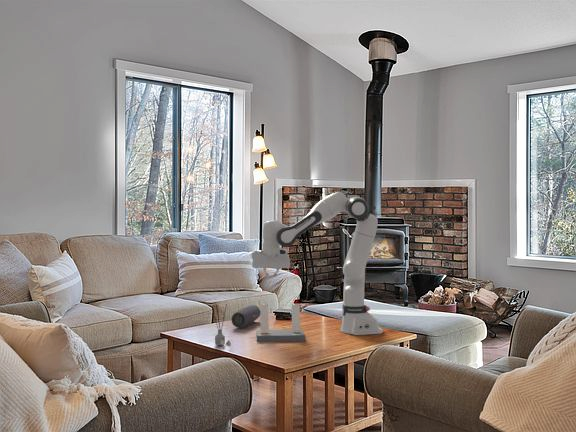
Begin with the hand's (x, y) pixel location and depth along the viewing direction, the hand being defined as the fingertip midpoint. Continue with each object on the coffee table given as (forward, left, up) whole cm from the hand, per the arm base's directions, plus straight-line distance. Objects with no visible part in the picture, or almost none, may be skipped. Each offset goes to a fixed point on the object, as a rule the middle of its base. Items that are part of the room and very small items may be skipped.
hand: (271, 276), depth 324 cm
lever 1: (+4, +18, -26) cm, 32 cm away
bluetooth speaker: (+13, -13, -29) cm, 35 cm away
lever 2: (-12, +18, -26) cm, 34 cm away
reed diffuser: (+26, +29, -29) cm, 49 cm away
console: (-4, +18, -29) cm, 34 cm away
